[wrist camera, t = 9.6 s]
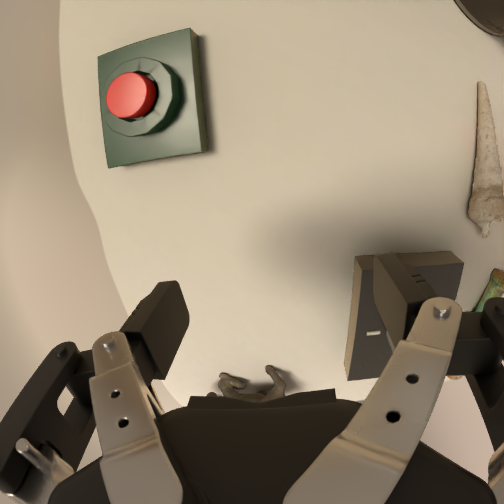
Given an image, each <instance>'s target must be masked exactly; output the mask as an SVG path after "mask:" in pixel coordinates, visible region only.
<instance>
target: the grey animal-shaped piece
mask: <svg viewBox="0 0 504 504" xmlns="http://www.w3.org/2000/svg"><path fill="white" fill-rule="evenodd" d="M265 369H266V372H267V374H269V375H270V376H271V378H272V379H273V381H274V383H275V386H274V387H273V388H272V390H271V391H270V392H259V393H252V394H239V393H238V392H237V391H236V390H235V389H245V387H246V385H245V384H243V383H242V382H241V381H239V380H237V379H235V378H232V377H229V375H227V374H223V373H222V374H220V375H219V377H220V378H221V379H220V381H219V383H218V386H219V388H220V389H221V391H222V393H223V395H224V396H223V397H228V398H233V399H238V400H244V401H250V402H256V403H261V402H265V401H269V400H273V399H277V398H281V397H284V396H285V394H284V389H285V387H286V383H285V381H284V380H283V379H281V378H280V376H279V375H278V373H277V372H275V371H274V370H273V368H272V367H271V366H266V368H265ZM234 388H235V389H234ZM207 396H212V397H217V395H216V394H215V393H214V392H210V393H208V394H207Z"/></svg>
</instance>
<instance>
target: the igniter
mask: <svg viewBox="0 0 504 504" xmlns="http://www.w3.org/2000/svg"><path fill="white" fill-rule="evenodd" d="M128 72H134V73H138V74H141V75H144V76H147V77H148V78H150V79H151V80H152V81H153V83H154V85H155V88H156V98H155V102H154V104H153V106H152V107H151V109H150V110H149V111H148V112H147V113H146V114H144V115H143V116H141V117H138V118H120V117H117V116H115V115H113V114H112V113H111V112H110V110H109V109H108V106H107V102H106V96H107V91H108V89H109V86H110V85H111V83H112V82H113V81H114V80H115V79H116V78H117V77H118V76H120V75H122V74H124V73H128ZM98 78H99V95H100V108H101V118H102V128H103V136H104V144H105V152H106V159H107V165H108V168H114V167H118V166H123V165H128V164H133V163H138V162H144V161H149V160H155V159H161V158H167V157H173V156H180V155H186V154H193V153H201V152H205V151H208V142H207V133H206V123H205V114H204V104H203V94H202V83H201V73H200V61H199V49H198V37H197V34H196V33H195V32H194V31H193V30H192V29H191V28H187V29H183V30H179V31H175V32H171V33H167V34H163V35H160V36H156V37H153V38H149V39H146V40H143V41H139V42H136V43H133V44H130V45H127V46H125V47H122V48H119V49H116V50H114V51H111V52H108V53H106V54H103V55H101V56H98Z"/></svg>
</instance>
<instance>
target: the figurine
mask: <svg viewBox="0 0 504 504" xmlns="http://www.w3.org/2000/svg"><path fill="white" fill-rule="evenodd" d="M503 293H504V272H503V271H500V270H498V269H494V271H493V272H492V274H491V280H490V282H489V284H488V286H487V288H486V290H485V292H484V294H483V297H482V298H481V300H480V302H479V304H478V306H477V308H476V310H475V312H482V310H483V306H484V303H485V302H486V301H487V300H488V299H490V298H493V297H501V296H502V294H503ZM462 376H463V375H460V376H447V377H448V378H450V379H453V380H456V379H460V378H461V377H462Z"/></svg>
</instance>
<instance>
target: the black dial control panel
mask: <svg viewBox="0 0 504 504" xmlns="http://www.w3.org/2000/svg"><path fill="white" fill-rule="evenodd" d="M394 255H395V256H396V257H397V258H398V260H399V261H400V262H401V263H408V264H410V265H412V266H414V267H415V268H416V269H417V270H418V271H419V272H420V273H421V276H423V277H424V278H425V280H426V281H427V282H428V283H429V285H430V286H431V287H432V288H433V290H434V291H435V292H436V294H437V295H438V296H439V297H444V298H449V299H452V300H454V301H455V300H456V296H457V292H458V288H459V284H460V280H461V275H462V271H463V266H464V262H462V261H461V260H460V259H459V258H458V257H457V256H456V255H455V254H454V253H452V252H451V251H439V252H422V253H404V254H394ZM373 260H374V255H367V256H355V261H354V276H353V289H352V301H351V311H350V321H349V329H348V338H347V345H346V353H345V360H344V366H345V371H346V376H347V381H352V380H362V379H370V378H378V377H380V375H381V373H382V372H383V370H384V368H385V367H386V365H387V363H388V361H389V359H390V358H391V356H392V354H393V353H392V350H391V348H390V345H389V343H388V340H387V337H386V332H387V329H386V327H385V325H384V322H383V320H382V318H381V315H380V313H379V311H378V309H377V307H376V304H375V300H374V293H373Z"/></svg>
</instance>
